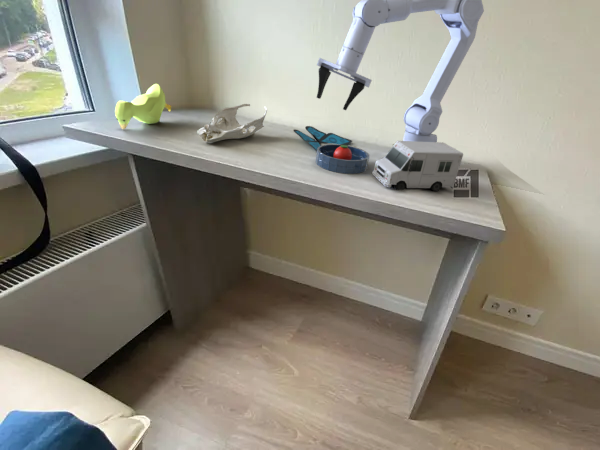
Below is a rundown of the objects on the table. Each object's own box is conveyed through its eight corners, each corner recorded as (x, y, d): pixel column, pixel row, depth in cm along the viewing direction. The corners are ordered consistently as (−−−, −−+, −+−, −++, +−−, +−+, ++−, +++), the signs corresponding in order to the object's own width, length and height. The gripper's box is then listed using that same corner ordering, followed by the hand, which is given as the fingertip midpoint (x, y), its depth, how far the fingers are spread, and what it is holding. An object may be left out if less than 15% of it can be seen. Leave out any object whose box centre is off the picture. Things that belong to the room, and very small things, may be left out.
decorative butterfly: (314, 130, 128) (315, 122, 127) (350, 143, 122) (352, 135, 121) (280, 144, 113) (281, 135, 112) (319, 160, 108) (321, 151, 106)
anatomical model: (275, 108, 119) (225, 116, 99) (273, 136, 123) (224, 149, 103) (238, 100, 125) (184, 106, 105) (238, 127, 129) (185, 138, 109)
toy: (154, 136, 128) (107, 125, 109) (162, 87, 126) (116, 68, 107) (168, 139, 127) (124, 129, 108) (177, 90, 124) (133, 71, 105)
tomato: (350, 162, 103) (353, 144, 101) (350, 168, 99) (353, 149, 97) (332, 160, 104) (335, 142, 101) (331, 165, 99) (334, 147, 97)
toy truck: (368, 171, 100) (375, 135, 95) (439, 178, 101) (450, 142, 96) (376, 190, 88) (385, 150, 84) (457, 198, 89) (471, 158, 84)
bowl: (365, 161, 107) (368, 148, 106) (367, 178, 95) (370, 163, 93) (317, 155, 108) (319, 141, 106) (313, 171, 96) (315, 156, 94)
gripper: (323, 37, 89) (303, 92, 95) (378, 60, 88) (354, 115, 93) (329, 42, 96) (309, 93, 101) (380, 63, 94) (357, 114, 100)
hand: (331, 103), depth 98 cm, fingers open, 7 cm apart
